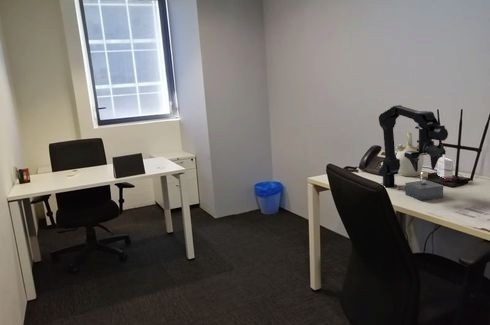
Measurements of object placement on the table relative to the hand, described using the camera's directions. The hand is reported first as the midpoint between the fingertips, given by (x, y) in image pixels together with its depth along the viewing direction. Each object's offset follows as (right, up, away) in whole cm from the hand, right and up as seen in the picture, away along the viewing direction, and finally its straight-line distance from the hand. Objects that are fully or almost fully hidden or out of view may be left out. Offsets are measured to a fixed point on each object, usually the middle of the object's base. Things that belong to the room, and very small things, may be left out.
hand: (424, 170), depth 189 cm
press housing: (+1, -13, +2) cm, 13 cm away
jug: (+12, -3, +45) cm, 46 cm away
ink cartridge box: (+24, -6, +27) cm, 37 cm away
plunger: (0, -8, +2) cm, 9 cm away
